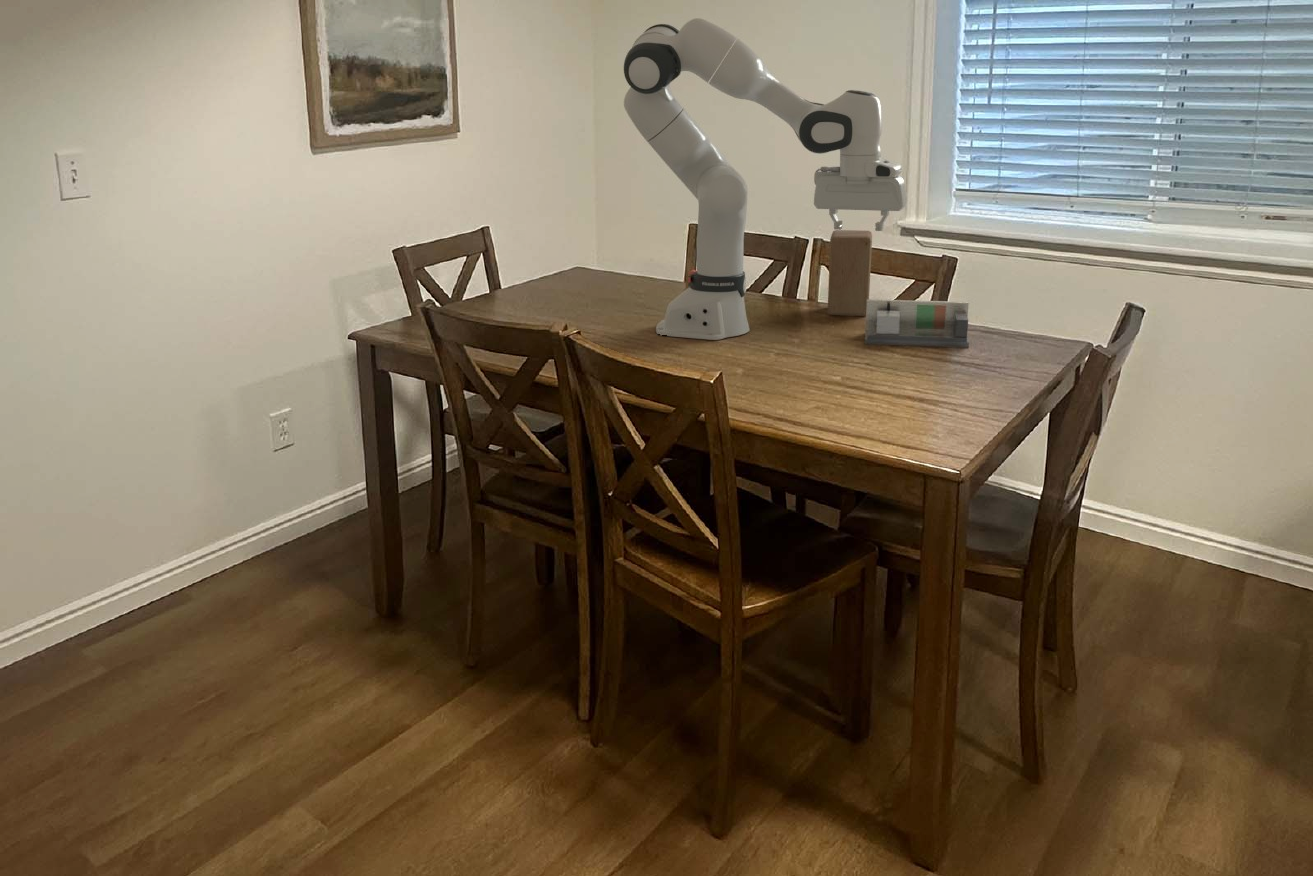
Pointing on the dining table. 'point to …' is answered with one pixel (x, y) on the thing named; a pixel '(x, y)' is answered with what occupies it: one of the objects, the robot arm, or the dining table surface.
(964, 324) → the bench
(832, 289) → the wooden block
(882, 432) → the dining table surface
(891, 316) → the gauge carriage
